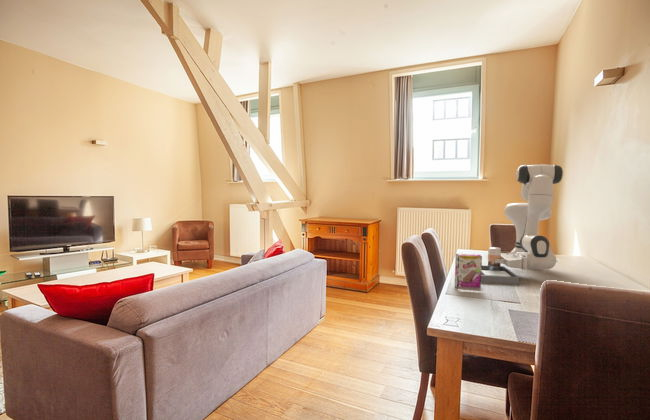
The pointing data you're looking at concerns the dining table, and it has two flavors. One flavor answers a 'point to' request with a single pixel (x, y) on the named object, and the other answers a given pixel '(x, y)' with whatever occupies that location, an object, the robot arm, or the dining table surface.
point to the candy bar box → (468, 270)
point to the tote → (500, 277)
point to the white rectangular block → (494, 273)
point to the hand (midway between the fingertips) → (492, 259)
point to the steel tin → (494, 254)
